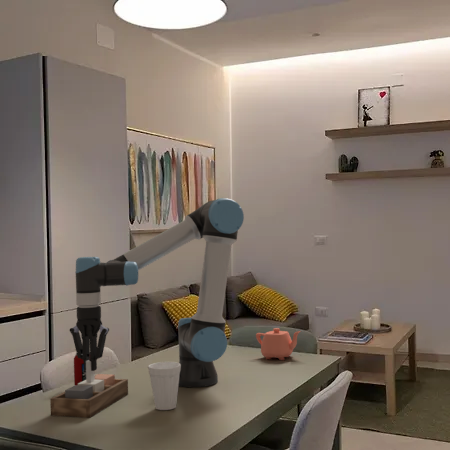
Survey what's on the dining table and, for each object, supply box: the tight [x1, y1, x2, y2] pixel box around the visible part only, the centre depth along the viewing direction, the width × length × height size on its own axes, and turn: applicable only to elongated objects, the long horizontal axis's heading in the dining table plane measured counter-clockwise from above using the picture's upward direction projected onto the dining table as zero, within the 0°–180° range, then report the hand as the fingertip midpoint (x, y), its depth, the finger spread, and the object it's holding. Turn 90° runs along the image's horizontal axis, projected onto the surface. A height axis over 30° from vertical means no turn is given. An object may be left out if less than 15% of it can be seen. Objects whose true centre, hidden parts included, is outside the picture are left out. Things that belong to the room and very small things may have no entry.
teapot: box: [255, 327, 302, 361], centre depth 255 cm, size 13×20×12 cm, turn 65°
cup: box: [147, 361, 181, 411], centre depth 187 cm, size 10×10×13 cm
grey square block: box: [64, 384, 93, 399], centre depth 186 cm, size 6×6×4 cm
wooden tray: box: [49, 378, 129, 419], centre depth 193 cm, size 13×26×5 cm, turn 164°
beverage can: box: [73, 352, 86, 386], centre depth 215 cm, size 7×7×12 cm
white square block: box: [78, 379, 104, 392], centre depth 193 cm, size 6×6×4 cm
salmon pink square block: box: [95, 373, 116, 386], centre depth 201 cm, size 6×6×4 cm
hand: (90, 380), depth 193 cm, fingers closed
